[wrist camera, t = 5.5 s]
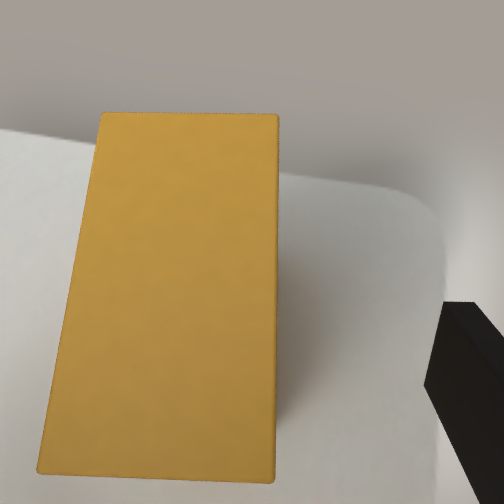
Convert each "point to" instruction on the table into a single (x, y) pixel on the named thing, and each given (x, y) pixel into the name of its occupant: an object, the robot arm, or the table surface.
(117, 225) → the block
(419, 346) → the table surface
